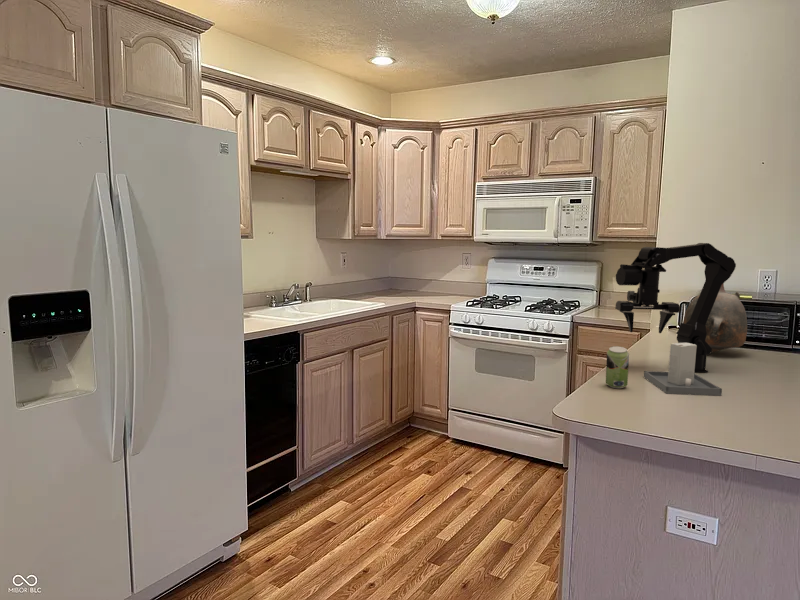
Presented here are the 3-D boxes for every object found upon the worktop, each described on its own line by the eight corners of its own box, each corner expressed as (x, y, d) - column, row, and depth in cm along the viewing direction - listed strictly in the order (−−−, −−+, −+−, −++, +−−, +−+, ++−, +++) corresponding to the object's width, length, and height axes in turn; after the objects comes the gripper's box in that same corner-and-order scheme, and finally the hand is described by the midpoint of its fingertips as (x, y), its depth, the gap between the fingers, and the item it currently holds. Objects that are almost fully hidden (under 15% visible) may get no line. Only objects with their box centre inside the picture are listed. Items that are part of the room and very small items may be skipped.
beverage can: (626, 384, 162) (629, 345, 161) (628, 391, 155) (631, 350, 154) (604, 382, 164) (606, 344, 163) (605, 389, 157) (607, 348, 156)
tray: (692, 378, 170) (693, 368, 170) (721, 395, 152) (722, 383, 152) (643, 377, 171) (644, 366, 171) (666, 393, 154) (667, 381, 153)
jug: (760, 360, 197) (768, 279, 194) (701, 359, 198) (708, 278, 194) (721, 346, 222) (728, 274, 218) (669, 345, 222) (674, 273, 218)
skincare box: (682, 380, 165) (685, 341, 163) (694, 384, 161) (697, 344, 159) (666, 382, 163) (669, 342, 162) (678, 386, 159) (681, 345, 157)
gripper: (668, 284, 183) (664, 329, 185) (611, 282, 184) (609, 327, 186) (682, 287, 172) (678, 335, 174) (622, 285, 173) (619, 333, 175)
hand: (645, 332), depth 178 cm, fingers open, 9 cm apart
